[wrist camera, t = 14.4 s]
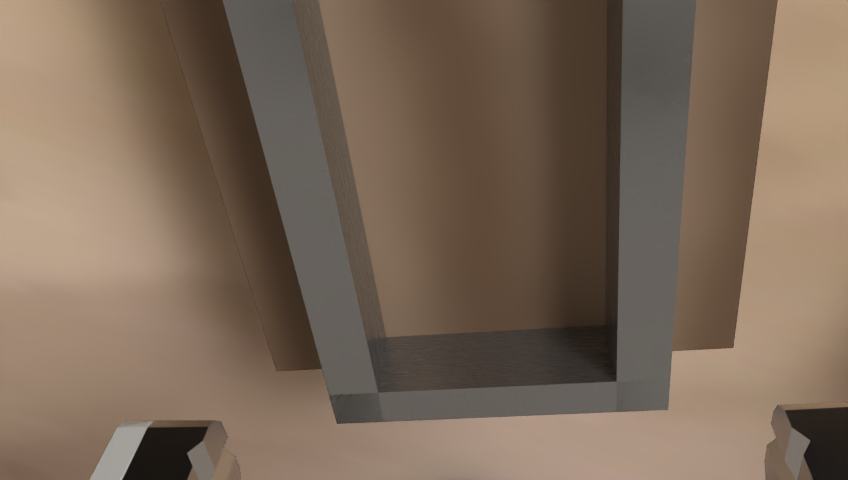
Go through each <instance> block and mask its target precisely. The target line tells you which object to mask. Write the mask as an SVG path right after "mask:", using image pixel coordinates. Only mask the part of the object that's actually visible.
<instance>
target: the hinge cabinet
mask: <svg viewBox="0 0 848 480" xmlns="http://www.w3.org/2000/svg"><path fill="white" fill-rule="evenodd" d="M160 3H161V6H162V9H163V12H164V15H165V19H166V22H167V25H168V28H169V31H170V34H171V38H172V41H173V44H174V47H175V50H176V53H177V57H178V60H179V63H180V66H181V69H182V72H183V76H184V79H185V82H186V85H187V88H188V92H189V95H190V98H191V101H192V104H193V107H194V111H195V114H196V117H197V120H198V123H199V126H200V130H201V133H202V136H203V139H204V142H205V146H206V149H207V152H208V155H209V158H210V161H211V165H212V168H213V171H214V174H215V177H216V180H217V184H218V187H219V190H220V193H221V196H222V199H223V203H224V206H225V209H226V212H227V215H228V219H229V222H230V225H231V228H232V231H233V234H234V238H235V241H236V244H237V247H238V250H239V253H240V257H241V260H242V263H243V266H244V269H245V272H246V276H247V279H248V282H249V285H250V288H251V292H252V295H253V298H254V301H255V304H256V307H257V311H258V314H259V317H260V320H261V323H262V326H263V330H264V333H265V336H266V339H267V342H268V346H269V349H270V352H271V355H272V358H273V361H274V365H275V368H276V371H290V370H309V369H322V370H323V374H324V378H325V381H326V385H327V389H328V392H329V396H330V400H331V403H332V407H333V411H334V415H335V418H336V422H337V424H341V423H365V422H389V421H413V420H436V419H460V418H484V417H508V416H531V415H555V414H579V413H602V412H626V411H650V410H668V402H669V387H670V373H671V358H672V351H682V350H702V349H721V348H733V346H734V338H735V330H736V322H737V314H738V306H739V298H740V291H741V283H742V275H743V267H744V259H745V251H746V243H747V236H748V228H749V220H750V212H751V204H752V196H753V188H754V181H755V173H756V165H757V157H758V149H759V141H760V134H761V126H762V118H763V110H764V102H765V94H766V86H767V79H768V71H769V63H770V55H771V47H772V39H773V31H774V24H775V16H776V8H777V0H160Z"/></svg>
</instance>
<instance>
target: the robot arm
mask: <svg viewBox="0 0 848 480" xmlns="http://www.w3.org/2000/svg"><path fill="white" fill-rule="evenodd" d="M771 425H772V428H773V431H774V433H775V436H776V438H775V439H774V440H773V441H772V442H770V443H769V444H768V445H767V448H766V455H765V478H766V480H848V402H843V403H816V404H789V405H777V407H776V408H775V410H774V411H773V416H772V421H771ZM227 437H228V436H227V433H226V431H225V429H224V427H223V424H222V422H220V421H215V420H155V421H125V422H124V423H122V424H121V425H120V426H119V427H117V429H116V430H115V432H114V434H113V436H112V438H111V440H110V441H109V443H108V445H107V447H106V449H105V451H104V453H103V455H102V456H101V458H100V460H99V462H98V464H97V466H96V468H95V470H94V472H93V473H92V475H91V477H90V479H89V480H241V475H240V468H239V464H238V462H237V459H236V456H235V455H234V454H232V453H231V452H229V451H228V450H227V449H225V448H224V446H225V443H226V440H227Z"/></svg>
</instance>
